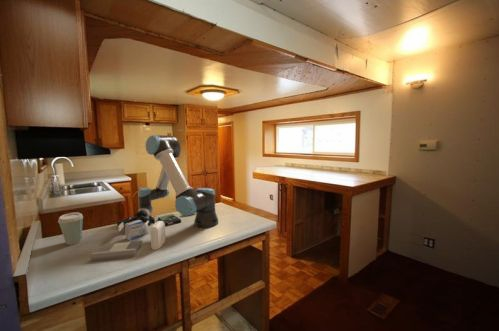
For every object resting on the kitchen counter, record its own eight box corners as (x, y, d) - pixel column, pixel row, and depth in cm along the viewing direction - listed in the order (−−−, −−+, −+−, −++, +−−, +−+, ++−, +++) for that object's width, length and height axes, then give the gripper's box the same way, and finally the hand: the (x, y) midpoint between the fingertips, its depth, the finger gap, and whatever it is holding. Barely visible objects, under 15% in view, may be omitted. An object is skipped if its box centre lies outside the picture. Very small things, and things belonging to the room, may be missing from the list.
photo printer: (158, 241, 122) (157, 218, 120) (166, 241, 122) (165, 218, 120) (150, 250, 111) (148, 225, 110) (158, 250, 111) (157, 225, 110)
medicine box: (130, 240, 122) (129, 225, 121) (125, 238, 125) (124, 223, 124) (143, 235, 129) (142, 220, 128) (138, 233, 131) (137, 219, 130)
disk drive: (181, 223, 150) (172, 217, 161) (181, 219, 149) (172, 213, 160) (166, 227, 143) (157, 221, 154) (165, 223, 142) (157, 217, 153)
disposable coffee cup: (88, 241, 121) (86, 214, 120) (63, 249, 113) (60, 220, 111) (81, 236, 128) (79, 210, 126) (57, 243, 119) (54, 215, 118)
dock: (142, 242, 120) (142, 236, 120) (134, 256, 105) (134, 249, 105) (104, 246, 116) (104, 240, 116) (91, 261, 101) (90, 254, 101)
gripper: (162, 219, 148) (156, 232, 128) (121, 222, 143) (107, 236, 122) (162, 208, 148) (156, 219, 127) (120, 211, 142) (106, 223, 122)
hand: (132, 227), depth 125 cm, fingers open, 13 cm apart
